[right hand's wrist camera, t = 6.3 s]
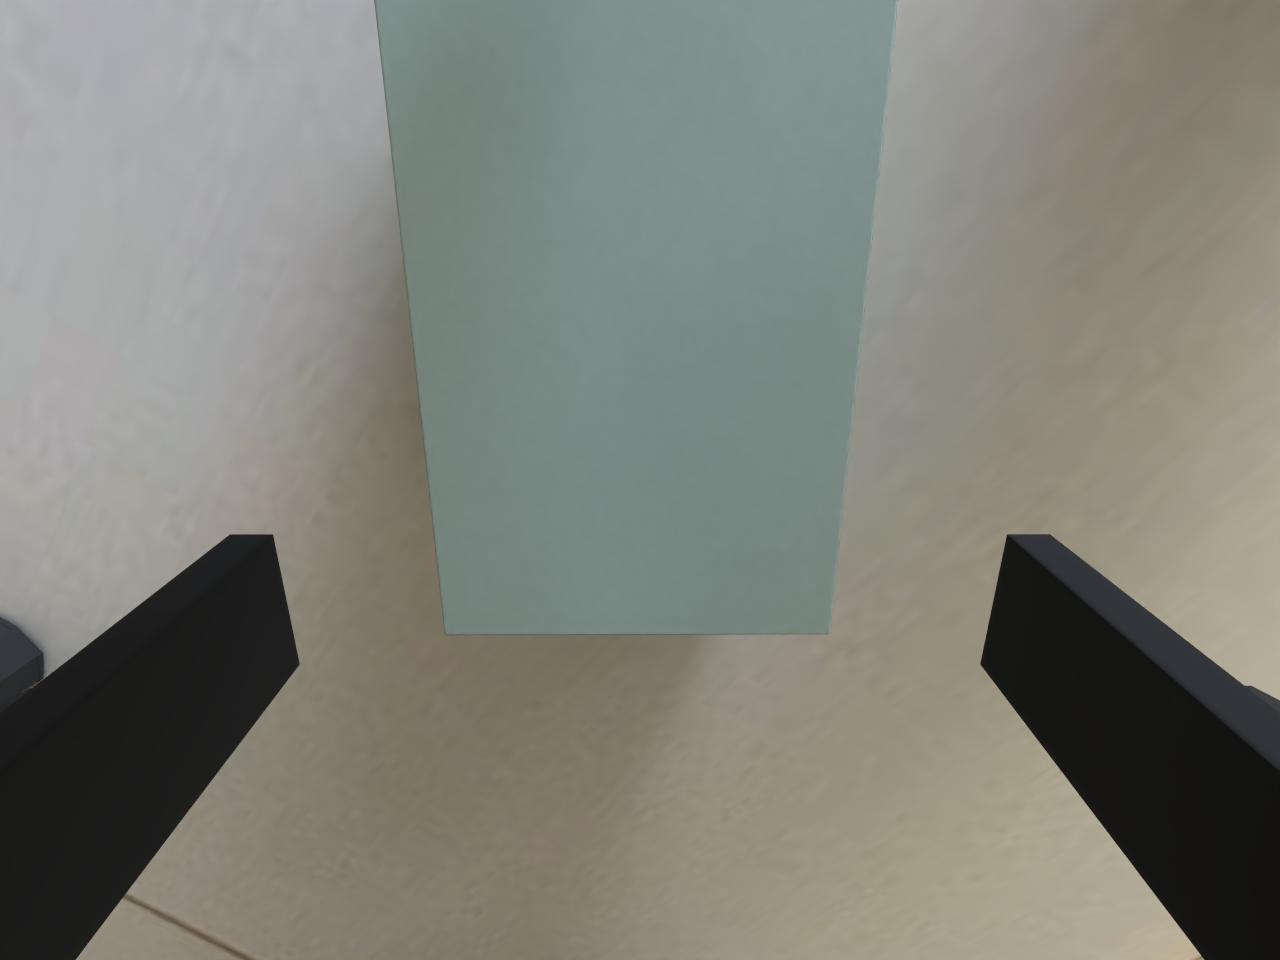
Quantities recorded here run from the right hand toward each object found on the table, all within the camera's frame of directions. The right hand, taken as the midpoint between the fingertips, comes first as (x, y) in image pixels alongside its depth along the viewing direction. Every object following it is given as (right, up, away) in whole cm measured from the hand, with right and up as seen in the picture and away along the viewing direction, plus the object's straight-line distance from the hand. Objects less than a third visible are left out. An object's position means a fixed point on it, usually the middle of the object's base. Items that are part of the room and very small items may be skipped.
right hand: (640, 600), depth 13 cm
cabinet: (0, +9, +15) cm, 18 cm away
